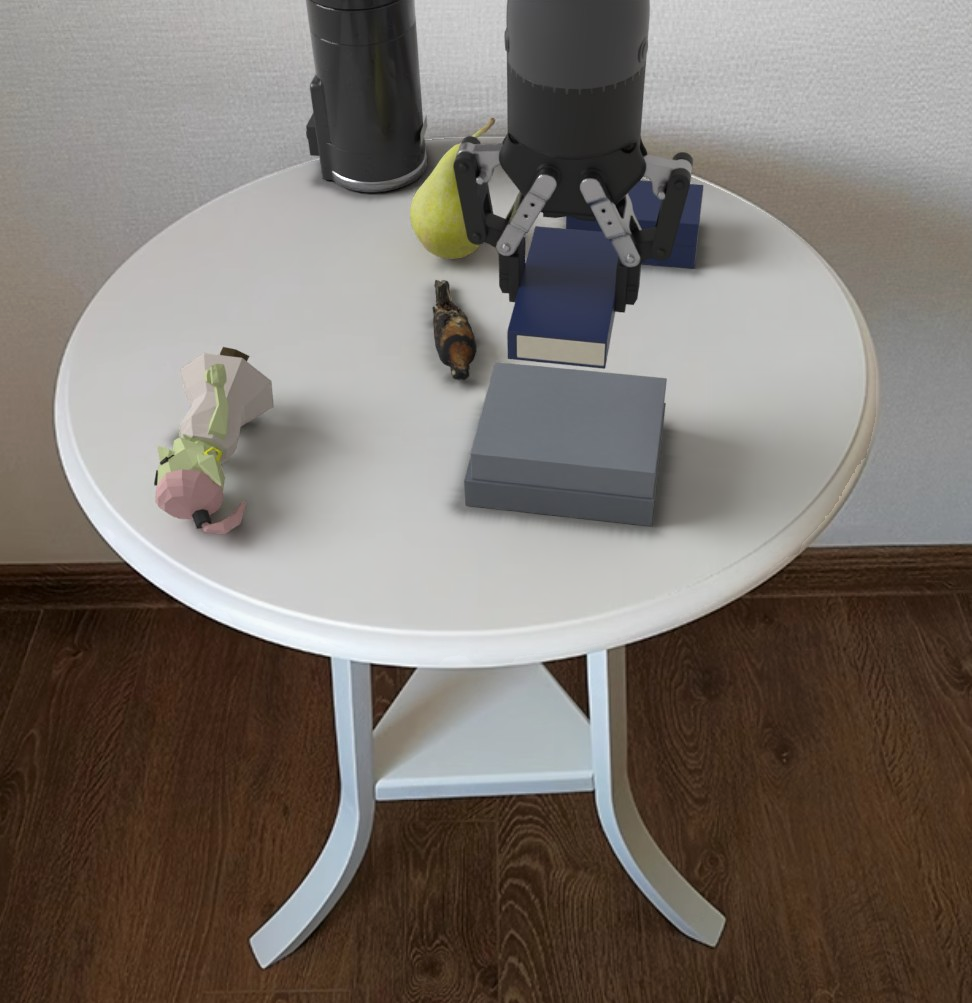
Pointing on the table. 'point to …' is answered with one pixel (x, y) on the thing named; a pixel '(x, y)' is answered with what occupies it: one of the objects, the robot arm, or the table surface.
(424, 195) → the fruit
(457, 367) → the bird model
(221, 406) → the figurine
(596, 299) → the navy book
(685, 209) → the navy stack
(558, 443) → the grey stack
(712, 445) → the table surface
